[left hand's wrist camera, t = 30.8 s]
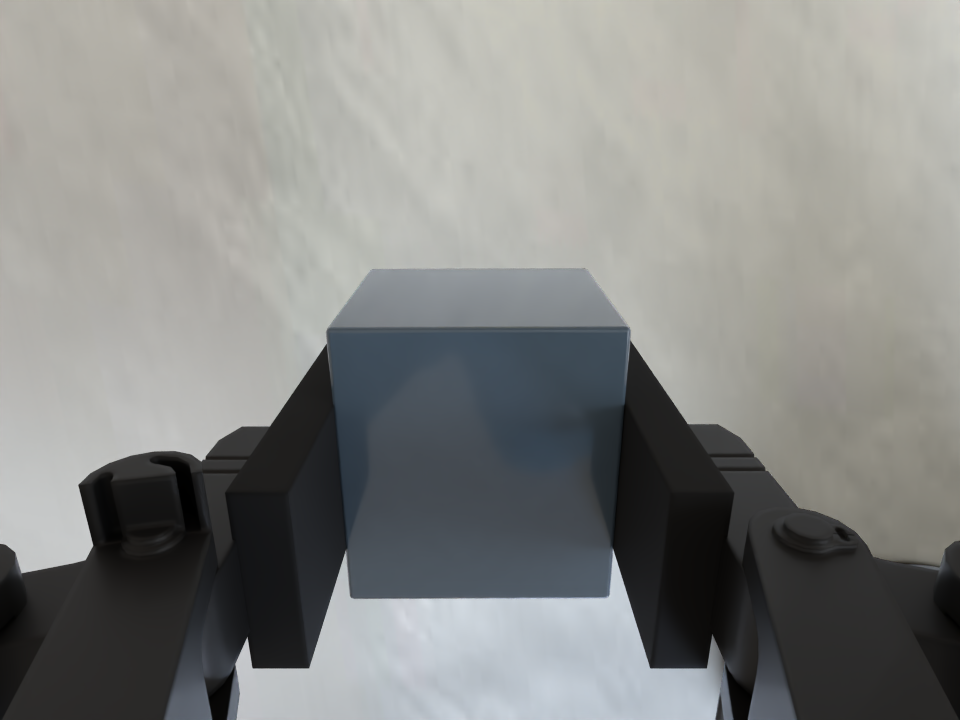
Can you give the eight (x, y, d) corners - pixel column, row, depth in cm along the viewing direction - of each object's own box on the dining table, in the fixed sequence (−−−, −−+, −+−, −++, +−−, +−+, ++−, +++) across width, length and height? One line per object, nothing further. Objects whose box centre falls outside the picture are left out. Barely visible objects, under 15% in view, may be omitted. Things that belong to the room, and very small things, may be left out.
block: (588, 267, 14) (632, 328, 10) (576, 476, 15) (610, 600, 11) (369, 268, 14) (323, 328, 10) (383, 476, 15) (349, 601, 11)
